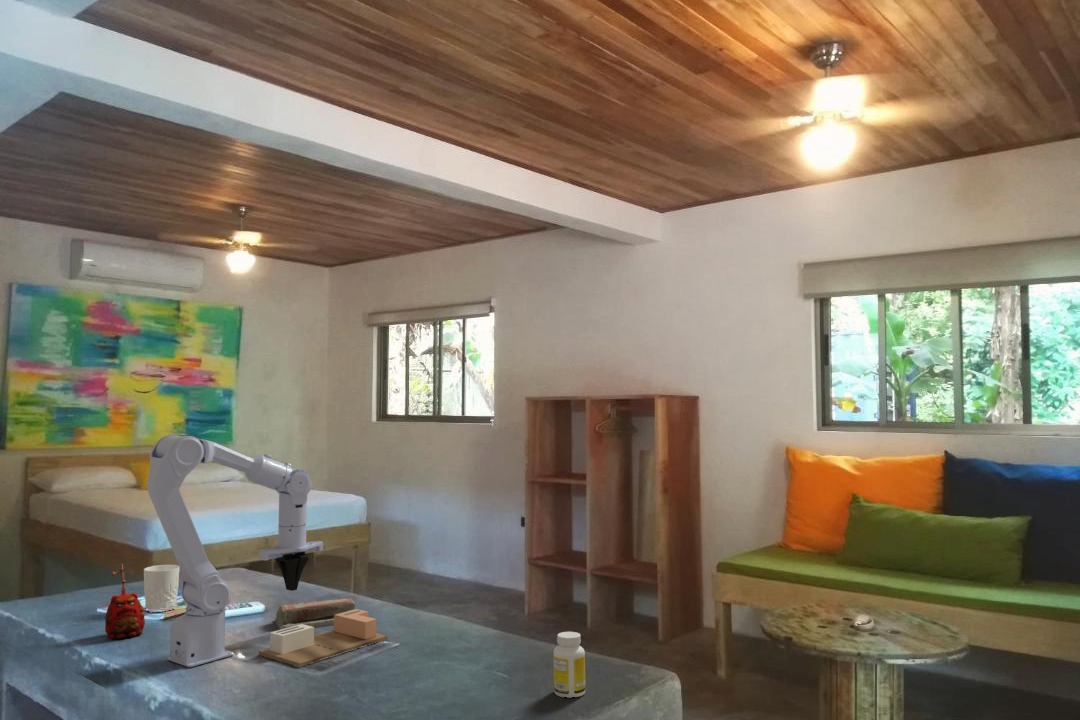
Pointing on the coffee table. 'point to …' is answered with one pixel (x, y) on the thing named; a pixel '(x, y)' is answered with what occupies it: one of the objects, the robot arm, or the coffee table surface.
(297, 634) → the white toaster
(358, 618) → the block
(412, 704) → the coffee table surface
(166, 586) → the white cup
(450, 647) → the coffee table surface
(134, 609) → the red clay folk toy
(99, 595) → the coffee table surface
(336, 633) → the board
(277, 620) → the packaged product
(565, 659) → the supplement bottle
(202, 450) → the robot arm
